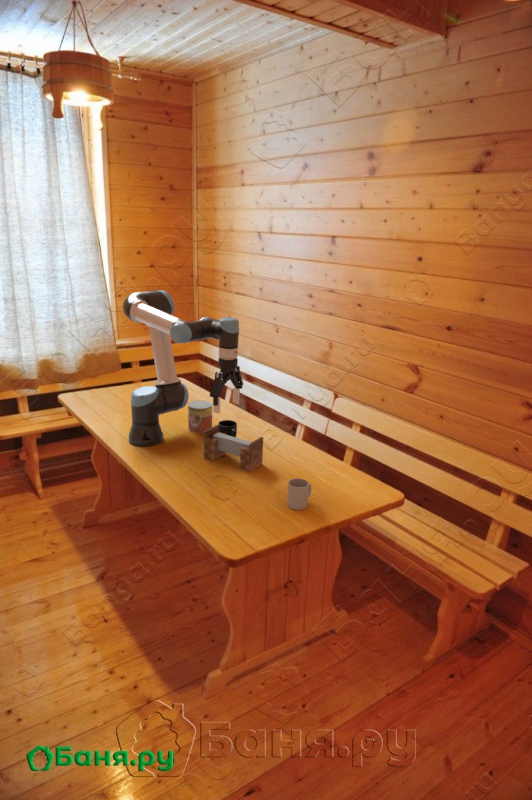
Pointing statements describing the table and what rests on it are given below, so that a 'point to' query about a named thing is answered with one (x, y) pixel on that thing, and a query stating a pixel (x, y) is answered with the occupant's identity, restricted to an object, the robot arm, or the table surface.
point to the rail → (230, 443)
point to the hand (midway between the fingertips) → (226, 407)
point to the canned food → (199, 416)
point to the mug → (228, 427)
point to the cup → (298, 493)
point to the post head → (211, 444)
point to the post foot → (251, 455)
